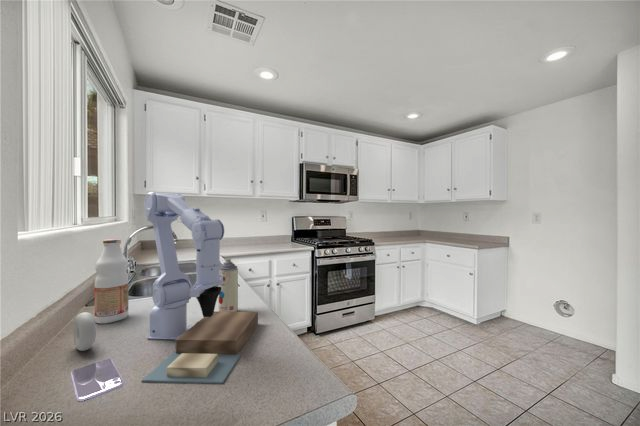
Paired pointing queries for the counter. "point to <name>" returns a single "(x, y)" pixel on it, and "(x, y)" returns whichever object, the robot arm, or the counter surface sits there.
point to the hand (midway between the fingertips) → (208, 315)
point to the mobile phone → (95, 379)
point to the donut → (84, 331)
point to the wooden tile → (192, 365)
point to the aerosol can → (229, 287)
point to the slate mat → (215, 376)
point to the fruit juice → (111, 284)
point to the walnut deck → (218, 334)
